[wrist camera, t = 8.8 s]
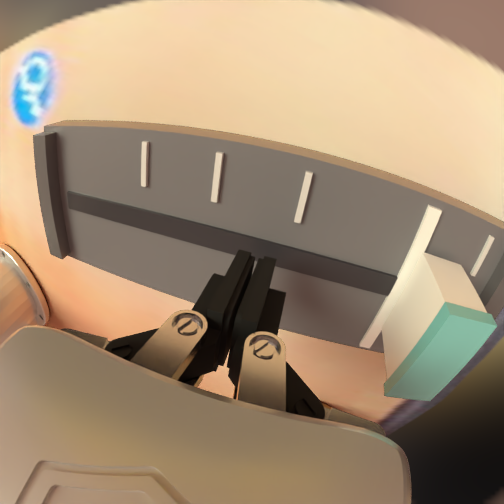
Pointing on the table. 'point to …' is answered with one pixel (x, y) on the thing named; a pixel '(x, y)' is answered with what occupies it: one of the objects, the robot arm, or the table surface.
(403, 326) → the fader knob
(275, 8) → the table surface
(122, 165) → the console board
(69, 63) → the table surface
